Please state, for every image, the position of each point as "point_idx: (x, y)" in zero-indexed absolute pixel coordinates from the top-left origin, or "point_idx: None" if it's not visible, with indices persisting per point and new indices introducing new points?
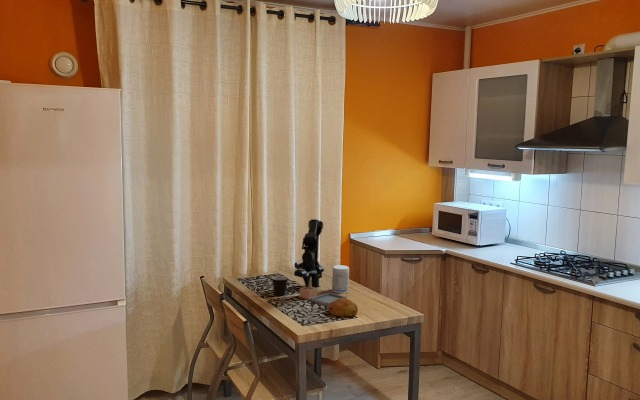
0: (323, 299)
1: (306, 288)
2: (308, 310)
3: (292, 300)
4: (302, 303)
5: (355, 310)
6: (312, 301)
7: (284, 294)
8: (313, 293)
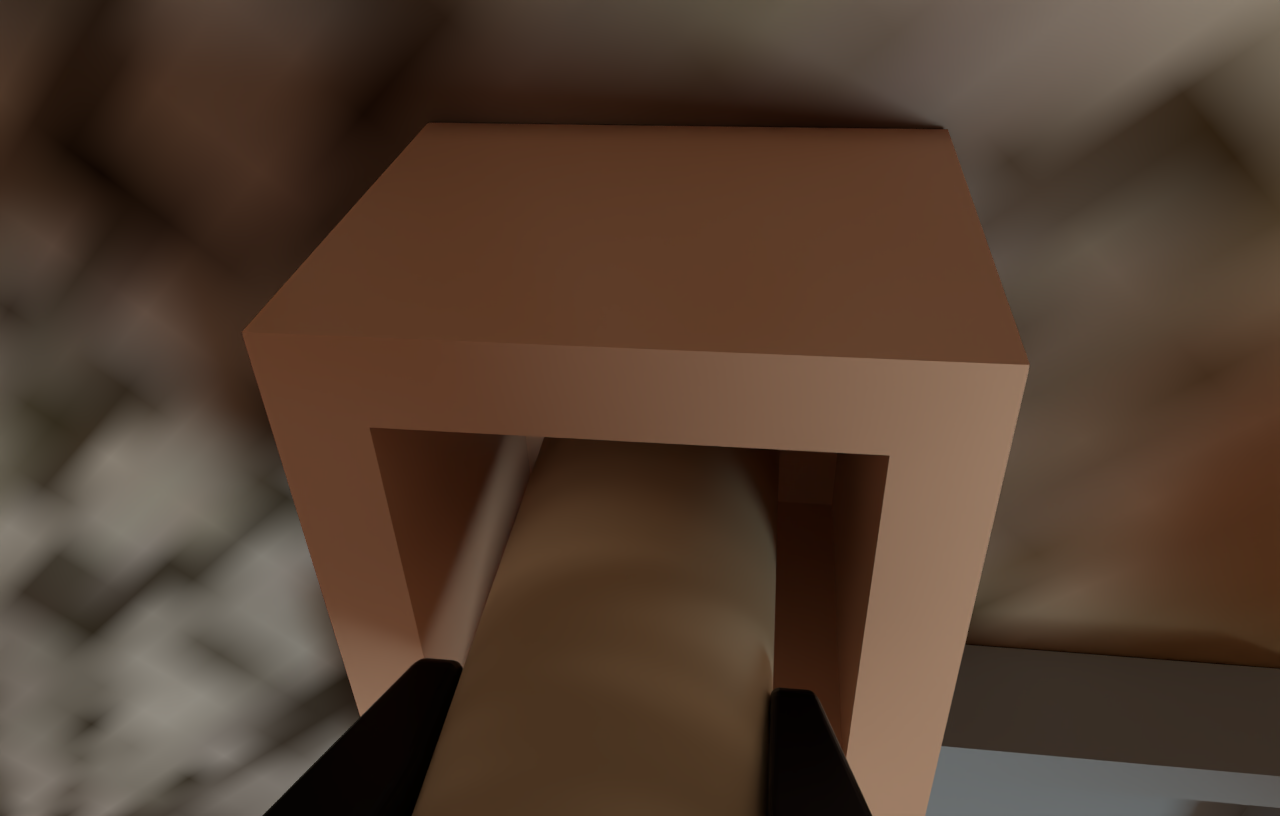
0: None
1: (492, 589)
2: (63, 794)
3: (19, 141)
4: (175, 518)
5: None
6: None
7: None
8: None
